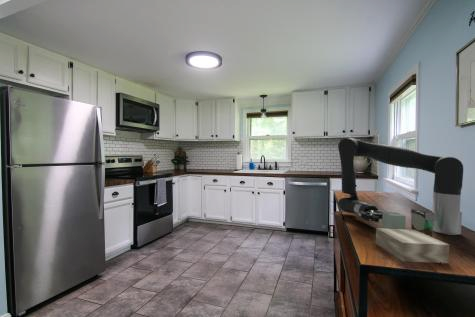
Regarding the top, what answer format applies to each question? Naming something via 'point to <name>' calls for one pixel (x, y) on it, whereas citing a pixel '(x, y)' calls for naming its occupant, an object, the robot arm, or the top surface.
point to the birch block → (412, 245)
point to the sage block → (393, 220)
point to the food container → (422, 221)
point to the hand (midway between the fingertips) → (388, 220)
